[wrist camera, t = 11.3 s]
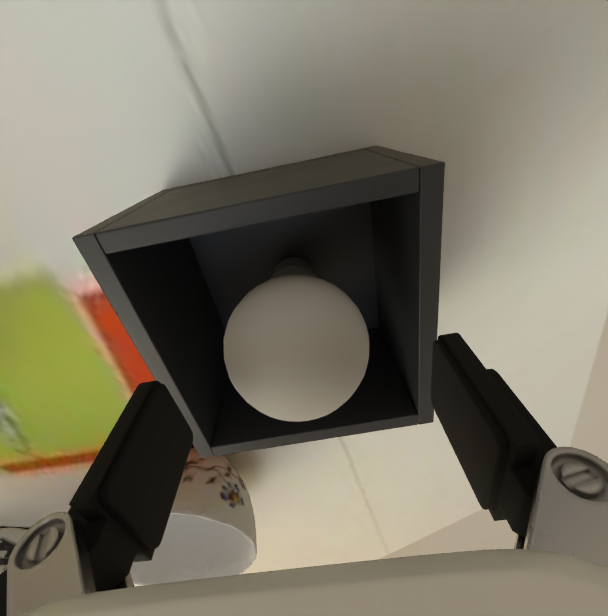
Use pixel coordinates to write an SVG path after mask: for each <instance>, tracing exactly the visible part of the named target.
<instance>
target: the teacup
mask: <svg viewBox="0 0 608 616" xmlns="http://www.w3.org/2000/svg"><path fill="white" fill-rule="evenodd" d="M256 554H257V545H256V529H255V519H254V513H253V507H252V504H251V500H250V496H249V494H248V491H247V489H246V487H245V484H244V482H243V480H242V479H241V477H240V476H239V474H238V473H237V472H236V470H235V469H234V468H233V467H232V466H231V465H230V464H229V462H228V460H227V458H226V457H224V456H223V455H220V456H214V457H208V458H201V457H200V455H199V454H198V452H197V450H196V449H195V448H191V449H190V452H189V455H188V458H187V462H186V465H185V468H184V471H183V474H182V478H181V481H180V484H179V487H178V490H177V494H176V497H175V500H174V503H173V506H172V510H171V513H170V516H169V519H168V522H167V526H166V529H165V532H164V535H163V538H162V541H161V544H160V545H159V547H158V548H155V551H154V554H153V557H152V560H151V561H142V562H134V561H133V564H132V567H131V570H130V573H131V577H132V580H133V583H135V584H139V585H143V586H145V585H153V584H162V583H171V582H179V581H188V580H197V579H205V578H214V577H223V576H232V575H238V574H240V573H242V572H244V571H245V570H246V569H247V568H248V567H249V566H250V565H251V564H252V562H253V561H254V560H255V558H256Z"/></svg>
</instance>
